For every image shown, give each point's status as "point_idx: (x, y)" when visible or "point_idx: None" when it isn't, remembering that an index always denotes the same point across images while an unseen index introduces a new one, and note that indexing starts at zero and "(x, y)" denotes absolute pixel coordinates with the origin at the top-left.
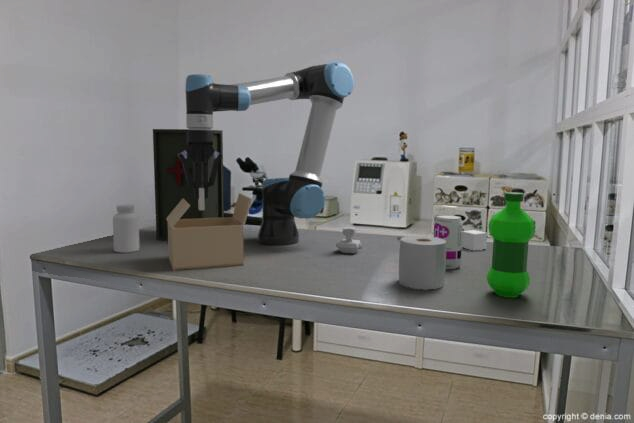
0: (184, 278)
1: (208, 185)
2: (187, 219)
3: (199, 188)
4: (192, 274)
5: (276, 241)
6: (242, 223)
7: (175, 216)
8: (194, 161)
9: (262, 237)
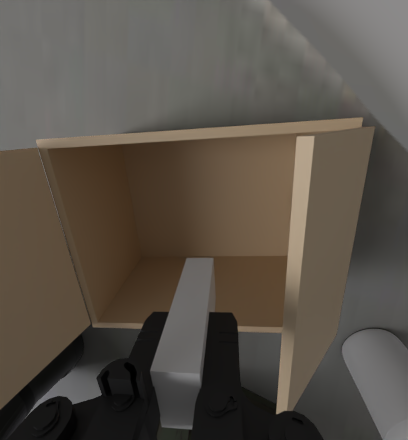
0: (285, 19)
1: (98, 412)
2: (252, 325)
3: (195, 374)
4: (257, 64)
5: None
6: (37, 159)
7: (345, 214)
8: None
9: None
